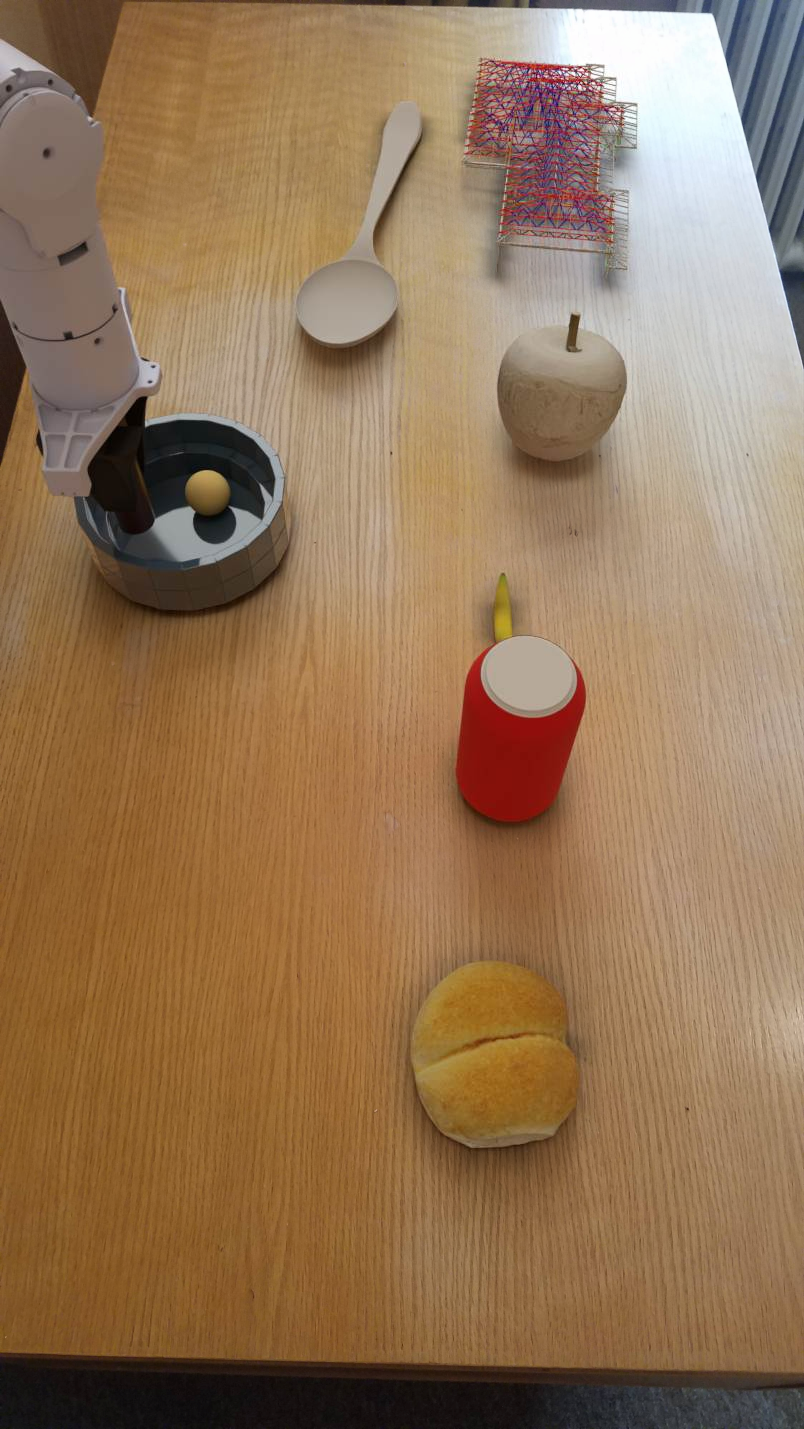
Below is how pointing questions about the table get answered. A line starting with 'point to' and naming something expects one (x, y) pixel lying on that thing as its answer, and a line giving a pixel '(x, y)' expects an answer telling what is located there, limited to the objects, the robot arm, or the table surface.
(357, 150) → the table surface
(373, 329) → the spoon
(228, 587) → the bowl
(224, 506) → the ball
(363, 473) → the table surface
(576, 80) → the roof frame
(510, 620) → the fruit
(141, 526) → the brown wooden dowel
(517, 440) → the decorative object
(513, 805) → the beverage can
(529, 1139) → the bread roll
